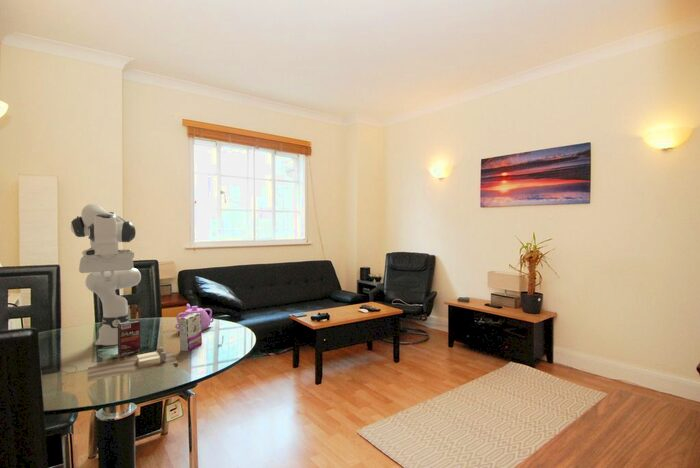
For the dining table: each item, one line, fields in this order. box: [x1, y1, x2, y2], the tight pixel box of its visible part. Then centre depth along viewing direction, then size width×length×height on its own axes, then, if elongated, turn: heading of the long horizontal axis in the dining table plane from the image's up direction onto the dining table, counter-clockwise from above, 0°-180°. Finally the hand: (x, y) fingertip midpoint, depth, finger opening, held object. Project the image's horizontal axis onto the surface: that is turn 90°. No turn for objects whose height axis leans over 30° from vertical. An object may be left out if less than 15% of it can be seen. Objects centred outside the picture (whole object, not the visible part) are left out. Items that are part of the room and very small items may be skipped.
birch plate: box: [136, 351, 161, 368], centre depth 160 cm, size 10×8×2 cm
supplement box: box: [117, 319, 141, 356], centre depth 173 cm, size 9×5×16 cm, turn 136°
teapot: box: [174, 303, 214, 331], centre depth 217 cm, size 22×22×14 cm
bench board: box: [87, 346, 179, 383], centre depth 156 cm, size 18×32×6 cm, turn 125°
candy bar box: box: [178, 313, 203, 352], centre depth 182 cm, size 11×5×16 cm, turn 168°
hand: (107, 281), depth 162 cm, fingers closed
